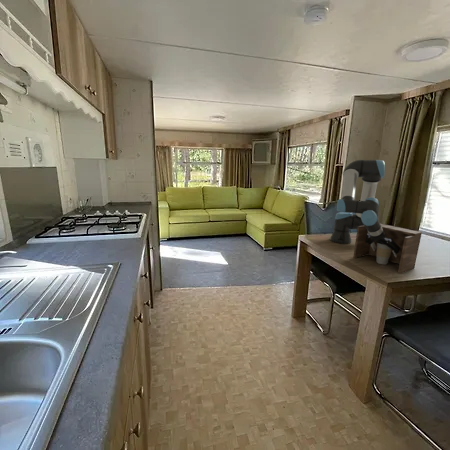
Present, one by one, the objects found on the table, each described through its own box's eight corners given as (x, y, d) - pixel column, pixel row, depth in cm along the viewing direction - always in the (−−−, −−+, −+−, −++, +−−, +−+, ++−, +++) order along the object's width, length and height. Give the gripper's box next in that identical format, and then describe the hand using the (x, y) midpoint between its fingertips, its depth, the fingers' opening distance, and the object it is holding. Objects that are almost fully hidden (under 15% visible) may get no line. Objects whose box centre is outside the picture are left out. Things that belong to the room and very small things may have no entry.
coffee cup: (382, 266, 152) (386, 242, 148) (369, 260, 161) (373, 238, 157) (394, 264, 154) (398, 241, 151) (381, 259, 163) (385, 237, 160)
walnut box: (353, 257, 166) (358, 224, 160) (367, 253, 174) (372, 222, 168) (400, 273, 142) (407, 235, 137) (414, 268, 150) (421, 232, 145)
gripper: (352, 231, 156) (363, 251, 167) (394, 242, 135) (404, 263, 146) (359, 222, 157) (369, 242, 168) (401, 231, 136) (410, 253, 148)
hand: (385, 252), depth 157 cm, fingers open, 12 cm apart
